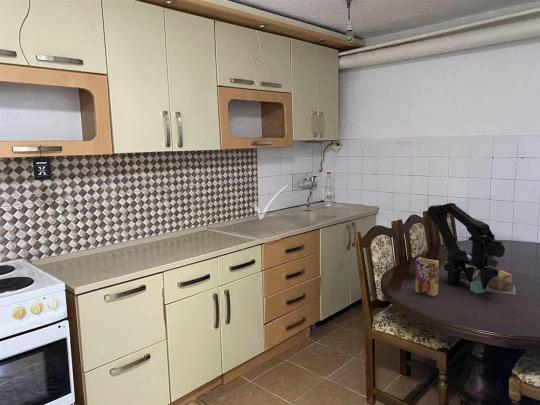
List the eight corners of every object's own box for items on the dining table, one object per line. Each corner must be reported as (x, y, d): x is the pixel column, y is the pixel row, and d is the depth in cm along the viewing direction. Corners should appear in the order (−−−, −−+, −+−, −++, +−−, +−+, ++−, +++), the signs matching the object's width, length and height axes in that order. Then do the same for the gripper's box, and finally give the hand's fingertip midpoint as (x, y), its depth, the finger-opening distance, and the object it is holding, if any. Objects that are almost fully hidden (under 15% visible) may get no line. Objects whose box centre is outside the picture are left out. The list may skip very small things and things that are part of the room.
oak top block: (499, 283, 180) (499, 275, 179) (489, 279, 185) (490, 271, 185) (511, 282, 181) (511, 274, 180) (501, 277, 186) (502, 270, 186)
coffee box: (469, 252, 210) (459, 259, 198) (482, 254, 206) (473, 262, 194) (468, 269, 212) (458, 277, 200) (482, 272, 207) (472, 280, 195)
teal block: (476, 293, 179) (476, 284, 179) (470, 290, 183) (470, 281, 183) (484, 292, 180) (484, 284, 179) (478, 289, 184) (478, 281, 183)
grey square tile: (515, 295, 175) (515, 294, 175) (484, 291, 181) (484, 290, 181) (515, 286, 186) (515, 285, 186) (485, 282, 192) (485, 282, 192)
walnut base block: (498, 291, 179) (499, 283, 179) (487, 286, 186) (488, 278, 186) (512, 290, 181) (513, 282, 180) (501, 284, 187) (501, 277, 187)
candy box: (438, 293, 180) (439, 260, 178) (434, 296, 177) (435, 262, 175) (419, 289, 186) (419, 257, 184) (414, 291, 183) (415, 259, 181)
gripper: (510, 256, 171) (508, 291, 174) (481, 245, 189) (479, 277, 192) (487, 258, 169) (485, 293, 172) (459, 247, 188) (457, 279, 190)
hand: (477, 285), depth 181 cm, fingers open, 9 cm apart
